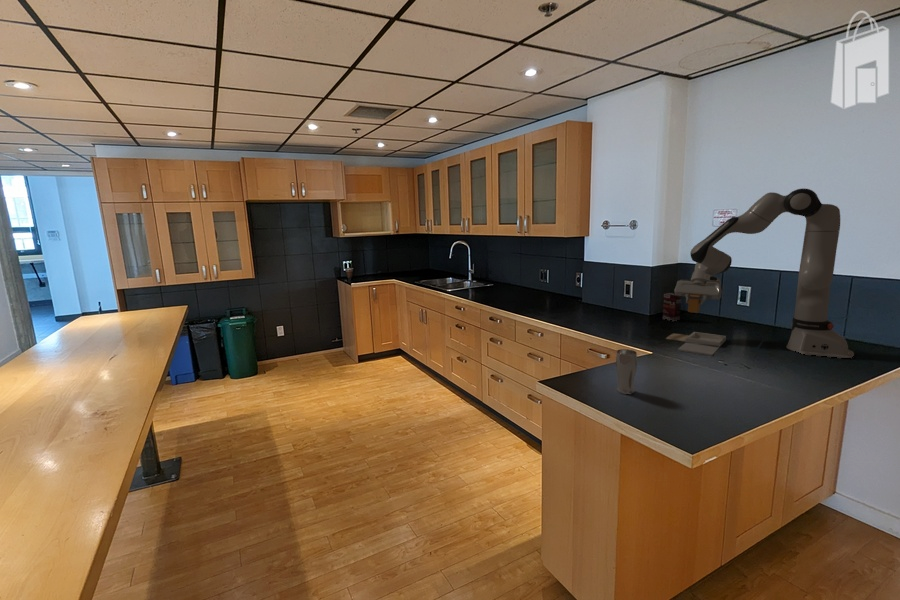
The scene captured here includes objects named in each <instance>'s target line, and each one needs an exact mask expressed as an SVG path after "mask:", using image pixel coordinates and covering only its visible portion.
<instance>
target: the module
mask: <svg viewBox="0 0 900 600" xmlns="http://www.w3.org/2000/svg"><path fill="white" fill-rule="evenodd" d="M688 299H689V303H688V307H687V312H688V313H695V314H698V313H699V312H700V307H701V305H700V304H699V303H698V302H699V300H701V299H702V298H701V296H699V295H690V296H689V298H688Z"/></svg>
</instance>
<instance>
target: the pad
mask: <svg viewBox="0 0 900 600" xmlns="http://www.w3.org/2000/svg"><path fill="white" fill-rule="evenodd" d="M689 335H690V334H689ZM689 335H688V334H682V333H671V334H670V335H668V336H666V338H665V340H672V341H679V342H685V343H687V342H686V338H687V337H688V336H689Z"/></svg>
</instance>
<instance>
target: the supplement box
mask: <svg viewBox="0 0 900 600" xmlns="http://www.w3.org/2000/svg"><path fill="white" fill-rule="evenodd" d="M681 305H682V296H677V295H676V294H675V293H673V292H666V293H663V303H662V320H665V319H667V320H666V321H670V320H672V321H671V322H674V321H676V322H678V321H677V320H680V321H681V309H682V308H681V307H682V306H681Z"/></svg>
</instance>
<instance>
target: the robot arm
mask: <svg viewBox="0 0 900 600" xmlns="http://www.w3.org/2000/svg"><path fill="white" fill-rule="evenodd" d="M783 213H790V214H791V215H794V216H800V217H801V216H802V217H805V222H806V224H805V231H804V236H803V242H802V243H803V244H802V250H801V255H800V256H801V257H800V262H799V263H800V264H799V269H798V276H797V278H798V280H797V289H796V297H795V298H796V299H795V306H794V316H793V317H792V321H791V334H790V337H789V340H788V343H787V344H786V346H785V347H786V349H788V350H790V351H792V352H795V351H796V353H798V352H799V353H798V354H800V353H801V355H803V354H805V356H811V355H816V356H815V357H821V356H827V357H826V358H831V357H837V358H836V359H841V358H851V359H853V358H854V357H855V352H854V351H853V350H851V349H849V346H848V345H849V344H848V341H847V340H846V338H844V336H842V335H840V334H839V333H837V332H836V331H835V330H833V328H834V323H833V322H832V321H829V320H828V312H829V306H830V304H829V303H830V295H831V283H832V281H833V277H834V271H835V270H834V269H835V264H836V263H835V262H836V257H837V249H838V243H839V237H840V230H841V210H840V208H839V206H837V205H834V204H830V203H829V204H828V203H822V202H821V200H820V199H819V197H818V194H817V193H816V192H815V191H814V190H812V189H809V188H803V187H802V188H798V189H794V190H793V191H791V192H789V194H786V195H782V194H780V193H777V192H773V191H772V192H767V193H765V194H764V195H762V196H761V197H760V198H758V200H756V202H754V203H753V204H752V205H751V206H750V207H749V209H748V210H747V211H745V212H744V213H742V214H740V215H738V216H732V217H731V218H729V219H728V220H726V221H724V222H723V223H722V224H721V225H720V226H718V227H717V228H716V229H715V230H713V231H712V232H711V233H710V234H708V235H707V237H705V238H704V239H703V240H701V241H700V242H698V243H697V244H695V245H694V246H692V249H691V251H690V258H691V260H692V262H695V266H694V271H693V272H692V274H691V278H690V279H679V280H677V281H676V285H675V288H674V294H676V295H677V296H681V297H685V303H686V304H689V296H690V295H699V296H701V298H700V300H699V302H698V303H699V304H700V306H701V305H703V304H704V302H705V301H706V300H707V299H710V300H720V299H721V298H722V291H723V290H722V281H721V278H720V277H717V276H714V275H720V274H723V273H726V272H727V271H728V270H729V269H730V268H731V265H732V261H733V260H732V259H733V258H732V257H731V255H729V254H727V253H725V252H724V251H721V250H720V249H718V248H715V246H714V245H716V244H717V243H718V242H720V241H721V240H722V239H723V238H724V237H726V236H727V235H729V234H734V233H740V234H748V235H749V234H750V235H754V234H755V235H756V234H759V233H762V232H763V231H765V230H766V229H767V228H768V227H769V226H770V225H771V224H772V223H773V222H774V221H775V220H776V219H777V218H778V217H779V216H781V214H783ZM853 356H854V357H853ZM852 357H853V358H852Z"/></svg>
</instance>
